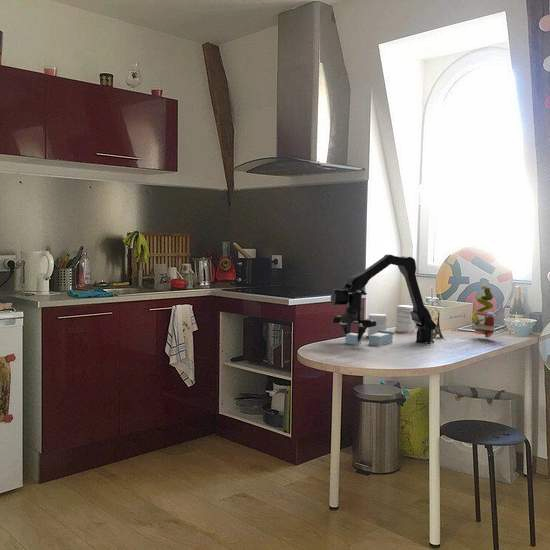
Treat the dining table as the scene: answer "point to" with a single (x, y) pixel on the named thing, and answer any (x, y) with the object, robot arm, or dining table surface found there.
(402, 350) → the dining table surface
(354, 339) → the light blue block
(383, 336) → the blue notched block
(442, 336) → the eiffel tower figurine
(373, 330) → the small box
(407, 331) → the white tall block
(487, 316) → the prank snake can
